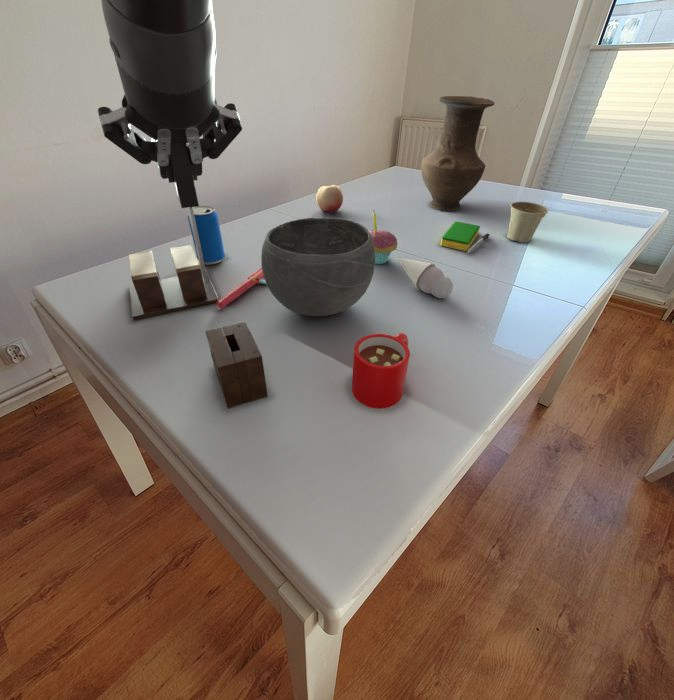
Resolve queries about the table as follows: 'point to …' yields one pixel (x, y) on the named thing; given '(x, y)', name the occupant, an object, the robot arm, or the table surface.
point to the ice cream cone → (427, 277)
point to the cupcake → (382, 243)
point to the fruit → (329, 198)
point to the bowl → (318, 264)
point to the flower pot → (525, 220)
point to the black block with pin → (186, 191)
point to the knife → (479, 243)
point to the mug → (380, 369)
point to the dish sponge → (460, 236)
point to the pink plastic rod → (242, 288)
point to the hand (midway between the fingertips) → (180, 174)
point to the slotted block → (168, 285)
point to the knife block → (237, 364)
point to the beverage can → (208, 234)
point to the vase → (455, 153)
